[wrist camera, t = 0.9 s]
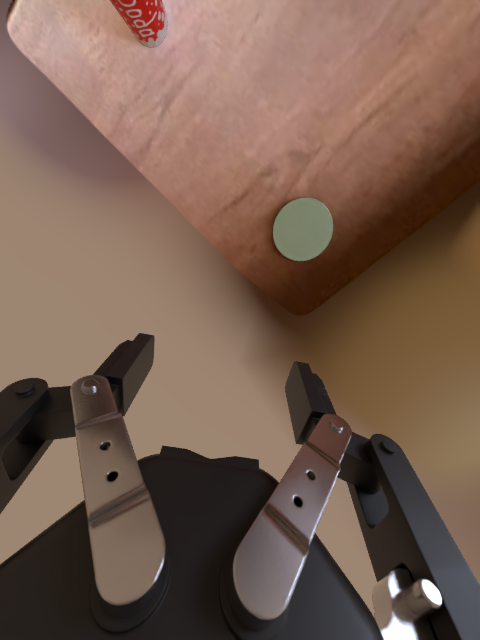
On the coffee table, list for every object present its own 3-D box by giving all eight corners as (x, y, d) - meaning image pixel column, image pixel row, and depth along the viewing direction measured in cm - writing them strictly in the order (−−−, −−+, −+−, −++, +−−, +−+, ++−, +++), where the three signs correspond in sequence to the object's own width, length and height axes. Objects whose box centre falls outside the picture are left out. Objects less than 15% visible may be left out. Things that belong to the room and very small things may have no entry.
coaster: (284, 189, 34) (285, 189, 34) (342, 209, 35) (343, 208, 34) (264, 250, 38) (264, 251, 37) (317, 268, 38) (318, 268, 37)
